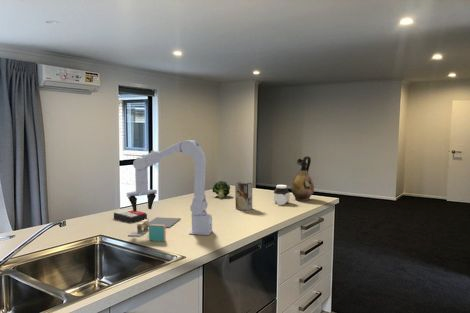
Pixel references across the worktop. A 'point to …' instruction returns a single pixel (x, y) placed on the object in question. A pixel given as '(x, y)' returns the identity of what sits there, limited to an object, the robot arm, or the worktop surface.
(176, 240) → the worktop surface
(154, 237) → the tile
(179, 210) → the worktop surface
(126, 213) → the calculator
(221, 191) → the vegetable
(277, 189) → the spread jar
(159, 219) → the mat
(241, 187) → the coffee box
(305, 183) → the ceramic jug
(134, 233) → the beige long bar
